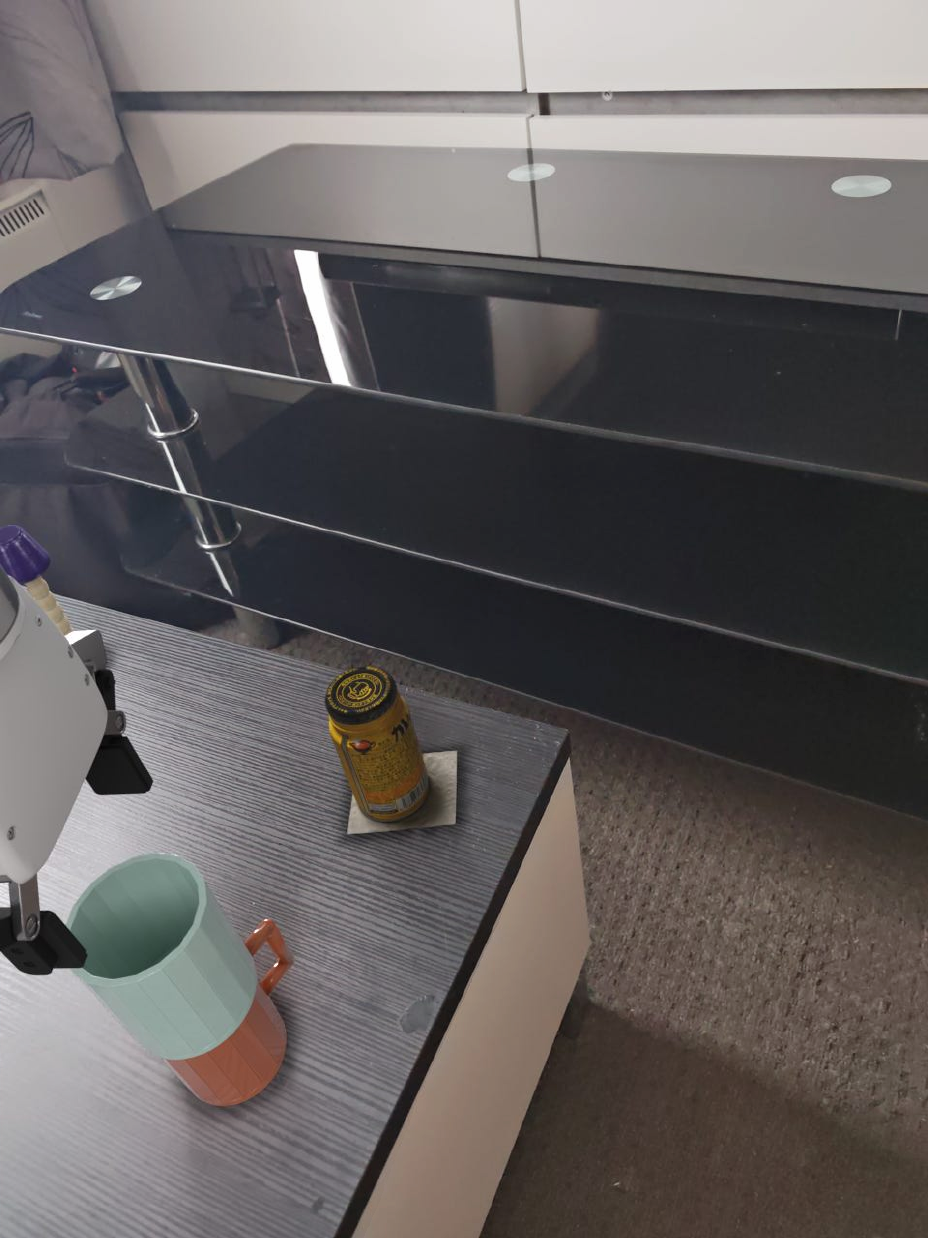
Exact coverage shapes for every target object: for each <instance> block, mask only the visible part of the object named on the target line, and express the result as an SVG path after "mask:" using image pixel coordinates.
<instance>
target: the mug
mask: <svg viewBox="0 0 928 1238" xmlns="http://www.w3.org/2000/svg"><path fill="white" fill-rule="evenodd" d="M243 942H244V944H245V946H246V947H247V949H248V950H249V952H250V954H251V955H252V957H253V958H254V957H255V955H256V954H257V952H259V950H260V949H261V948H262V947H263V945H264V944H265V943H267V945H268V946H269V949H270V950H271V952H272V953H273V956H275V958H276V961H275V962H274V964H272V966H271V967H270V968H269V970H268V971H267V972H266V974H265V975H264V976H263V978H261V979H258V978H257V986H256V992H255V996H254V999H253V1002H252V1005H251V1007H250V1010H249V1011H248V1013H247V1015H246V1017H245V1018H244V1020H243V1021H242V1023H241V1024H240V1026H239V1027H238V1028H237V1029H236V1030H235V1031H234V1033H233V1034H231V1035H230V1036H229V1037H228V1038H227V1039H226V1040H225V1041H224V1042H222V1043H221V1044H220V1045H218V1046H217V1047H215V1048H214V1049H212V1050H210V1051H208V1052H206V1053H204V1054H202V1055H199V1056H196V1057H193V1058H189V1059H183V1060H167V1059H163V1058H160V1059H161V1060H162V1062H163V1063H164V1064H165V1065H166V1066H167V1067H168V1069H170V1071H171V1072H172V1073H173V1074H174V1075H175V1076H176V1077H177V1078H178V1080H180V1082H182V1083H183V1085H184V1086H185V1087H186V1088H187V1089H188V1090H189V1091H190V1092H191V1093H193V1094H194V1095H195V1097H197V1099H199V1100H200V1101H202V1102H203V1103H206V1104H208V1105H211V1106H216V1107H229V1106H235V1105H238V1104H241V1103H244V1102H246V1101H248V1100H250V1099H253V1097H255V1096H256V1095H258V1094H259V1093H261V1092H262V1091H263V1090H264V1089H265V1088H266V1087H268V1085H269V1084H270V1083H271V1082H272V1080H273V1079H274V1078H275V1077H276V1075H277V1073H278V1072H279V1070H280V1068H281V1066H282V1064H283V1061H284V1058H285V1056H286V1051H287V1045H288V1033H287V1028H286V1025H285V1021H284V1019H283V1017H282V1015H281V1014H280V1012H279V1010H278V1008H277V1006H276V1005H275V1003H274V1002H273V1000H272V999H271V997H270V995H271V993H272V992H273V991H274V989H275V988H276V987H277V986H278V984H279V983H280V982H281V980H282V979H283V978H284V976H286V974H287V973H288V972H289V970H290V969H291V967H292V966H293V965H294V963H295V956H294V954H293V952H292V951H291V948H290V947H289V945H288V943H287V942H286V940H285V938H284V936H283V935H282V933H281V931H280V930H279V928H278V926H277V924H276V922H275V921H274V919H271V918H268V917H267V918H264V919H262V920H261V921H260V923H259V924H258V925H257V926H256V927H255V928H254V930H253V931H252V932H251V933H250V935H249V936H248V937H247V938H246V940H245V941H243Z"/></svg>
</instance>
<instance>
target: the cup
mask: <svg viewBox="0 0 928 1238" xmlns="http://www.w3.org/2000/svg"><path fill="white" fill-rule="evenodd" d="M64 924H65V925H66V926H67V928H68V929H69V930H70V931H71V932H72V934H73V935H74V936H75V937H76V938H77V939H78V941H79V942H80V943H81V944H82V945H83V947H84V948H85V949H86V953H87V955H88V956H87V959H86V962H85V964H84V967H83V968H69V970H70V971H71V973H72V974H73V975H74V976H75V977H76V978H77V979H78V980H79V981H80V982H81V984H82V985H83V986H84V987H85V988H86V989H87V990H88V991H89V992H90V994H91V995H92V996H93V997H94V998H95V999H96V1000H97V1001H98V1002H99V1003H100V1005H102V1007H103V1008H105V1010H106V1011H107V1012H108V1013H109V1014H110V1015H111V1016H112V1017H113V1018H114V1019H115V1021H116V1022H117V1023H118V1024H119V1025H120V1026H121V1027H122V1028H123V1029H124V1031H125V1032H126V1033H127V1034H128V1035H129V1036H130V1037H131V1038H132V1039H133V1040H134V1041H135V1042H136V1043H137V1044H138V1045H140V1046H141V1047H142V1048H143V1049H144V1050H145V1052H147V1053H149V1054H150V1055H152V1056H154V1057H157V1058H158V1059H161V1058H163V1059H167V1060H183V1059H189V1058H193V1057H196V1056H199V1055H202V1054H204V1053H206V1052H208V1051H210V1050H212V1049H214V1048H215V1047H217V1046H218V1045H220V1044H221V1043H222V1042H224V1041H225V1040H226V1039H227V1038H228V1037H229V1036H230V1035H231V1034H233V1033H234V1031H235V1030H236V1029H237V1028H238V1027H239V1026H240V1024H241V1023H242V1021H243V1020H244V1018H245V1017H246V1015H247V1013H248V1011H249V1010H250V1007H251V1005H252V1002H253V999H254V996H255V992H256V986H257V979H258V971H257V967H256V963H255V962H256V961H255V960H254V956H253V957H252V955H251V954H250V952H249V950H248V949H247V947H246V946H245V944H244V942H245V941H243V939H242V937H241V936H240V934H239V933H238V931H237V929H236V928H235V926H234V924H233V923H232V922H231V920H230V918H229V917H228V915H227V914H226V912H225V911H224V909H223V907H222V906H221V904H220V903H219V901H218V899H217V898H216V896H215V895H214V893H213V891H212V890H211V888H210V886H209V885H208V884H207V882H206V880H205V878H204V877H203V875H202V874H201V872H200V871H199V869H198V867H197V866H196V865H195V864H194V863H192V862H191V861H189V860H188V859H186V858H184V857H183V856H181V855H178V854H174V853H173V854H172V853H165V852H152V853H146V854H141V855H136V856H133V857H130V858H128V859H126V860H124V861H122V862H120V863H117V864H116V865H113V866H111V867H110V868H108V869H107V870H106V871H105V872H103V873H102V874H101V875H100V876H99V877H97V878H96V879H95V880H94V881H92V882H91V883H90V884H89V885H88V886H87V887H86V889H85V890H84V891H83V893H82V894H81V895H80V897H78V899H77V900H76V902H75V903H74V904H73V905H72V907H71V909H70V913H69V915H68V917H67V920H66V922H65V923H64Z"/></svg>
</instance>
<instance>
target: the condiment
mask: <svg viewBox="0 0 928 1238" xmlns="http://www.w3.org/2000/svg"><path fill="white" fill-rule="evenodd" d="M324 706H325V709H326V711H327V714H328V731H329V735H330V738H331V741H332V743H333V745H334V748H335V751H336V754H337V756H338V757H339V760H340V763H341V767H342V770H343V771H344V775H345V777H346V779H347V782H348V786H349V788H350V790H351V802H350V809H349V816H348V824H347V833H346V834H347V835H353V834H354V835H355V834H371V833H383V832H390V831H391V832H393V831H400V830H401V831H403V830H407V829H408V830H409V829H422V828H432V827H439V826H449V825H450V826H451V825H456V822H457V821H456V820H457V818H456V817H457V793H458V792H457V791H458V790H457V785H458V784H457V783H458V750H445V751H441V752H440V751H439V752H435V751H434V752H428V753H427V752H426V753H423V751H422V749H421V746H420V742H419V740H418V736H417V732H416V729H415V726H414V721H413V718H412V716H411V712H410V709H409V706H408V703H407V702H406V700H405V698H404V697H403V696H402V695H401V693H400V691H399V690H398V684H397V682H396V680H395V679H394V677H393V675H391V673H389V672H388V670H386V669H384V668H381V667H377V666H375V665H361V666H356V667H352V668H349V669H348V670H346V671H344V672H343V671H342V672H341V673H340V674H338V675H337V676H336V677H335V678H334V679H333V680H332V681H330V683H329V685H328V686H327V689H326V692H325V695H324Z"/></svg>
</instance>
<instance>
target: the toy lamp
mask: <svg viewBox="0 0 928 1238" xmlns="http://www.w3.org/2000/svg"><path fill="white" fill-rule="evenodd" d="M0 564H1V565H2V567H3V569H4V570H5V572H6V574H7V575H9V576H11V577H13V578H14V579H15V580H16V581H17V582H18V583H19V584H20V585H21V586H22V585H25V586H26V589H27V590H26V591H27V592H28V593H29V594H30V595H31V596H32V597H33V598H34V600H35V601H36V602H37V603H38V604H39V605H40V606H41V607H42V608H43V610H44V611H45V612H46V613H47V614H48V616H49V617H50V618H51V619H52V620H53V622H54V623H55V624H56V626H57V627H58V628H59V629H60V631H61V632H62V633H63V635H64V636H66V635H67V634H69V633H71V632H73V631H76V630H75V629H74V628H73V627H72V626H71V621H70V619H69V618H68V617H67V616H66V615H65V614H64V609H63V608H62V606H61V604H59V602H57V598H56V596H55V594H54V593H53V592H52V591H51V590H50V587H49V584H48V582H47V581H46V580H45V579H44V578H43V577H42V576H43V574H45V573H46V572H47V570H48V569H49V568H50V565H51V556H50V554H49V552H48V551H47V550H46V549H45V548H44V547H43V546H42V545H41V544H40V543H39V542H37V540H36V539H34V538H33V537H32V536H31V535H30V534H29V532H27V531H26V530H25V529H24V528H23V527H21V526H20V525H19V526H18V525H14V524H9V525H4V526H1V527H0Z"/></svg>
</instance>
